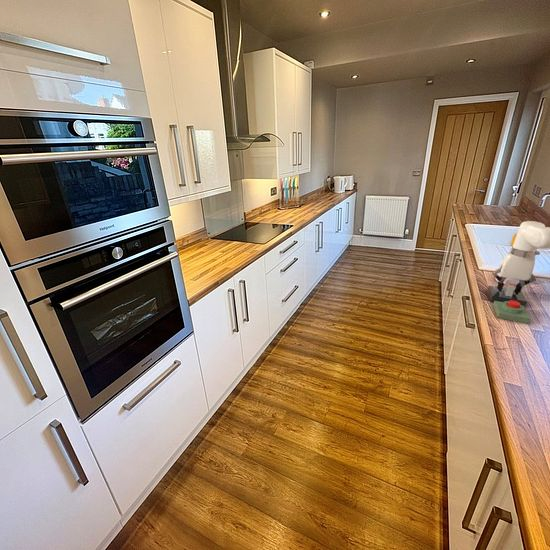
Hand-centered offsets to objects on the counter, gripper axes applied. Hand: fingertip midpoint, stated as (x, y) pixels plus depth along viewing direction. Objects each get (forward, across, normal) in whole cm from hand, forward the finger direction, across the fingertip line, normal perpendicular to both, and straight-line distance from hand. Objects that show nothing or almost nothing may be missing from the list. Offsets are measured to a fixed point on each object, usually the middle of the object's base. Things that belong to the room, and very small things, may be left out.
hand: (507, 291), depth 124 cm
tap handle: (+1, 0, 0) cm, 1 cm away
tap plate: (+4, 0, 0) cm, 4 cm away
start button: (0, 0, +13) cm, 13 cm away
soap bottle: (+4, -4, -20) cm, 21 cm away
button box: (+4, 0, +13) cm, 14 cm away
